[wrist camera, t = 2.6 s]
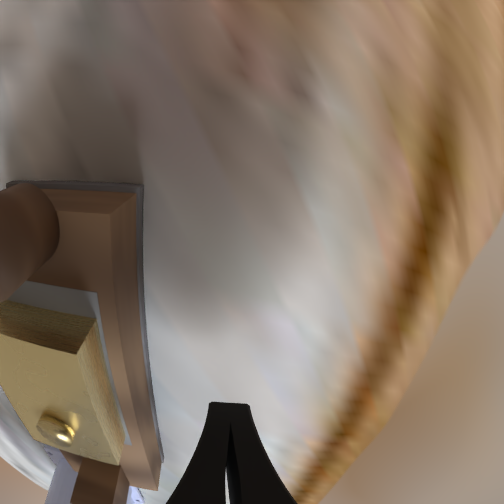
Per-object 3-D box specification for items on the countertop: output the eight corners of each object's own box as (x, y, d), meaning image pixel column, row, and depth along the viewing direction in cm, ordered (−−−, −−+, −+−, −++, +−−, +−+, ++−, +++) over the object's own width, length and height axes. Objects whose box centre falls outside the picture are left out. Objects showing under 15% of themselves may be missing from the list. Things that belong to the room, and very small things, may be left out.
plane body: (163, 457, 17) (154, 535, 11) (84, 440, 17) (63, 511, 11) (144, 168, 10) (40, 231, 4) (12, 166, 9) (-105, 217, 3)
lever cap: (125, 435, 12) (116, 474, 9) (45, 413, 11) (30, 447, 9) (96, 318, 9) (70, 366, 7) (-2, 297, 8) (-35, 332, 6)
